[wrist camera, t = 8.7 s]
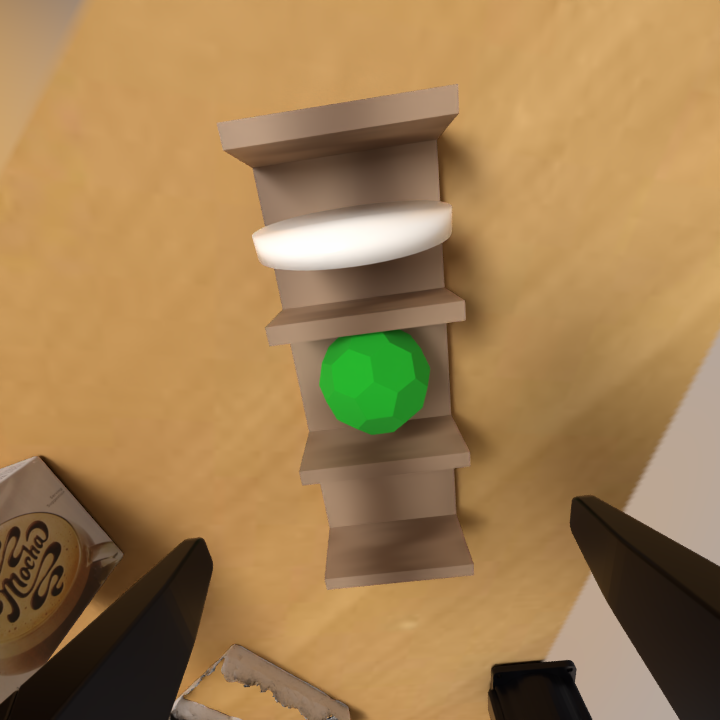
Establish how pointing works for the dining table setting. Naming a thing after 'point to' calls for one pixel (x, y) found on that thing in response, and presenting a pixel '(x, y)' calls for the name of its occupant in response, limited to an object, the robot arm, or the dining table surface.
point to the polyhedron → (375, 380)
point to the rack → (367, 328)
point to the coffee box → (43, 567)
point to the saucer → (354, 235)
